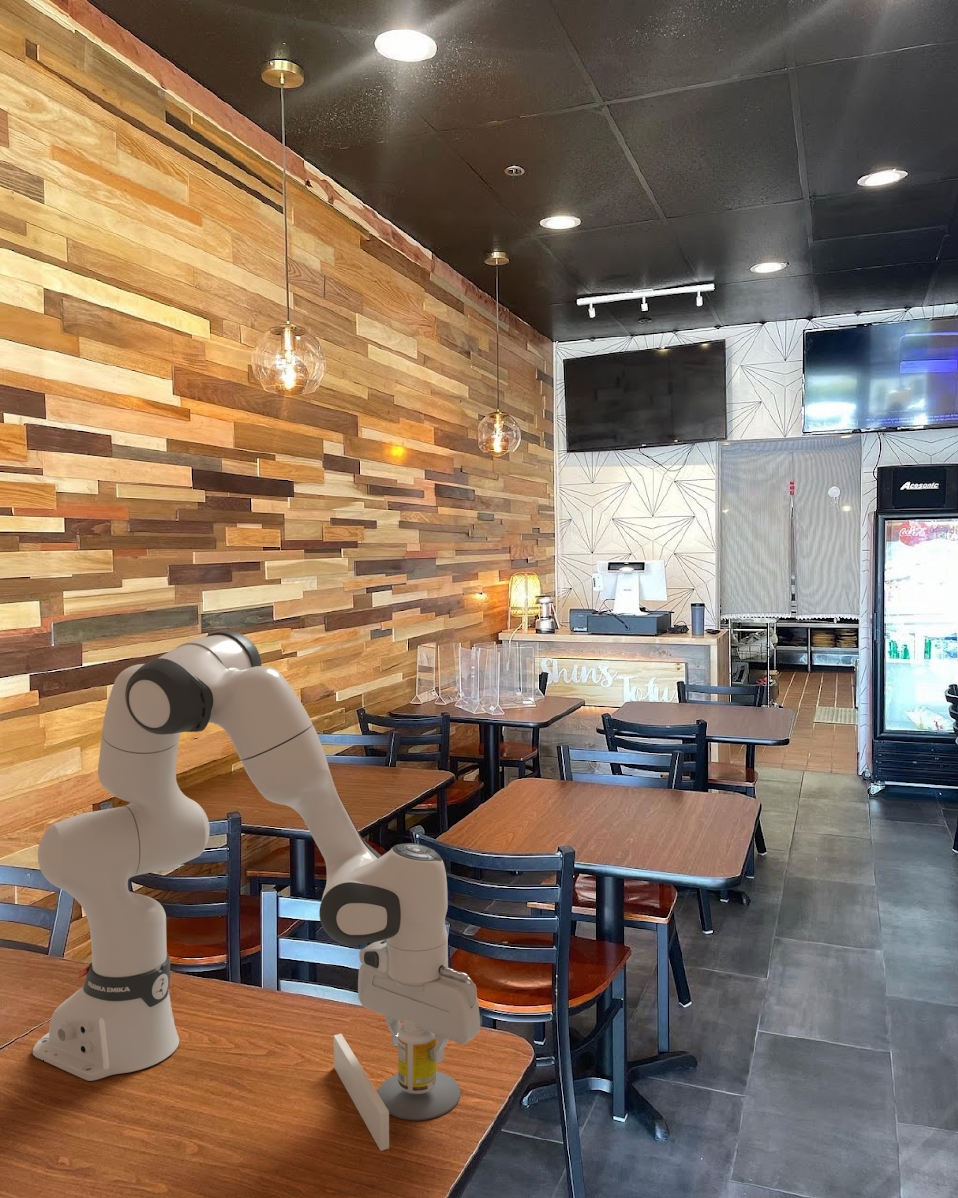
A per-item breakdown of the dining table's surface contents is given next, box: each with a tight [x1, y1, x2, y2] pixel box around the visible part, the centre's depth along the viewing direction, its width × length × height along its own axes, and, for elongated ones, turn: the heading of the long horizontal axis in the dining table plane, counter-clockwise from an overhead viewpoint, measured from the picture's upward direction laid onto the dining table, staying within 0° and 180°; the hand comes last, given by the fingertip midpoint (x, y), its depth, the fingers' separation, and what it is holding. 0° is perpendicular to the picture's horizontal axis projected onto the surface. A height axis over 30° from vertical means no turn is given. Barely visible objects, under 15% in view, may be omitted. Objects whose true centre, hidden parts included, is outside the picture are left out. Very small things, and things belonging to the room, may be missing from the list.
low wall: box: [333, 1033, 390, 1152], centre depth 130 cm, size 22×1×5 cm, turn 25°
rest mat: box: [377, 1070, 461, 1121], centre depth 132 cm, size 12×12×1 cm
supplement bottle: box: [397, 1020, 438, 1094], centre depth 132 cm, size 6×6×10 cm
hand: (417, 1052), depth 132 cm, fingers closed on supplement bottle, 5 cm apart
